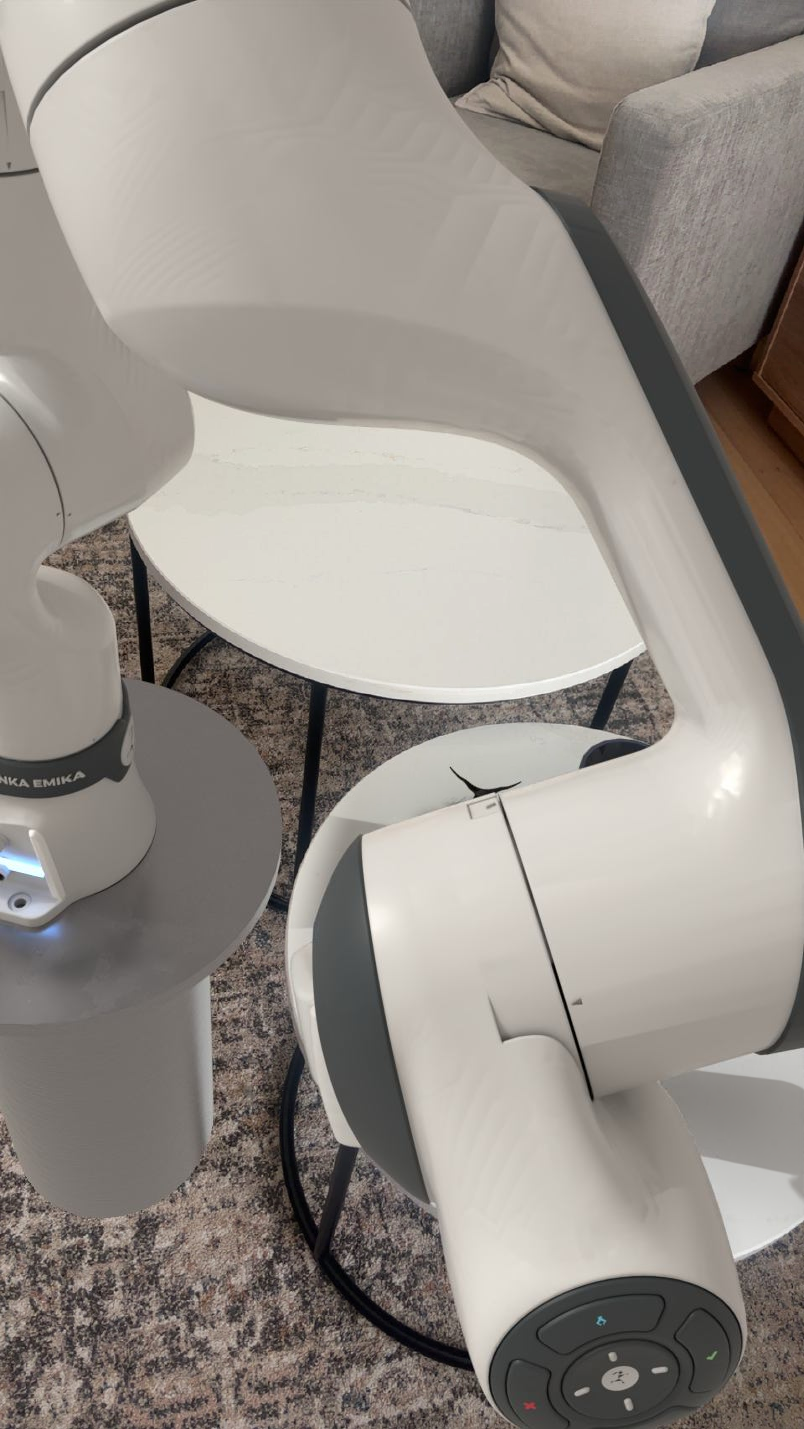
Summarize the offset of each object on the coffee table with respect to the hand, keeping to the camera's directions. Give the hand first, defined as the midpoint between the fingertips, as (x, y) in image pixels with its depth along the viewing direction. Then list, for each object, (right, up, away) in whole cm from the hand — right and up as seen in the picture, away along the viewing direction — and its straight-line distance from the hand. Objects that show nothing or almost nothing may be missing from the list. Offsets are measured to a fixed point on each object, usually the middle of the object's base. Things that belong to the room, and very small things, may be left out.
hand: (491, 901), depth 57 cm
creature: (+1, -1, +35) cm, 35 cm away
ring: (+14, 0, +38) cm, 40 cm away
